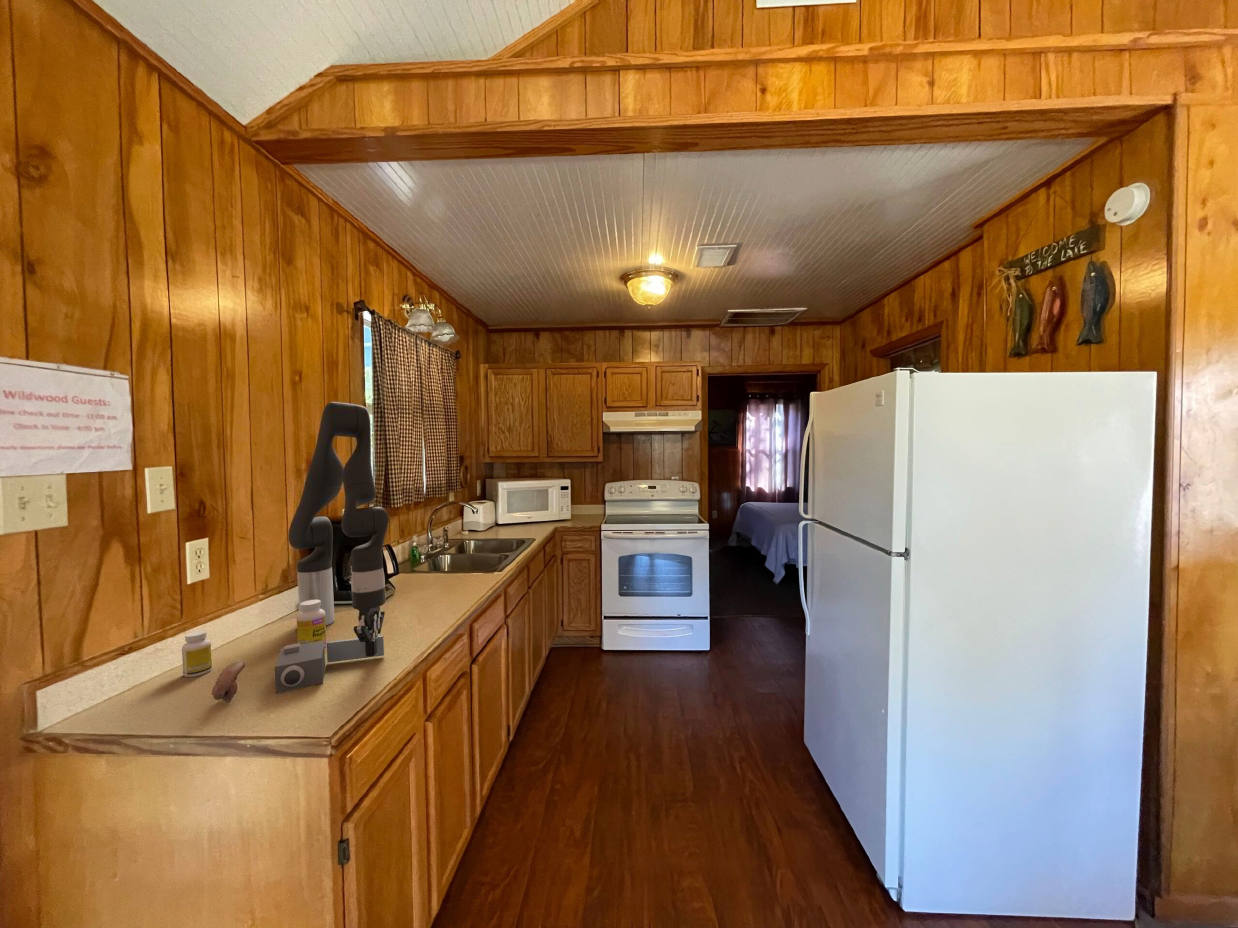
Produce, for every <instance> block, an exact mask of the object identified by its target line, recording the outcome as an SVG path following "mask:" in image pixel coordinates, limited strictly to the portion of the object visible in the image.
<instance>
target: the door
mask: <svg viewBox="0 0 1238 928" xmlns="http://www.w3.org/2000/svg"><path fill="white" fill-rule="evenodd" d="M376 640H377V653H376V654H375V655H374V656H369V657H367V656H366V652H365V642H360V641H359V639H358V637H356V638H350V639H342V640H332V641H326V657H327V660H326V661H327V663H329V664H330V663H335V662H342V661H344V662H345V661H352V660H359V659H370V658H374V657H375V658H377V657H383V656H385V645H384V643H385V640H384V635H378V638H377V639H376Z"/></svg>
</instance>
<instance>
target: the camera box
mask: <svg viewBox="0 0 1238 928" xmlns="http://www.w3.org/2000/svg"><path fill="white" fill-rule="evenodd" d="M325 647H326V646H325V645H324V641H318V642H313V643H307V644H301V645H300V643H298V642H297V643H293V644H289V645H285V646H284V647H281V649H280V651H279V654H278V656H277V660H276V662H275V665H274V674H275V675H274V678H275V694H279V693H284V692H289V691H293V690H298V689H303V688H307V687H312V686H317V685H321V684H324V677H325V672H326V671H325V670H326V651H325V650H326V648H325Z"/></svg>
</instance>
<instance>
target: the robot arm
mask: <svg viewBox="0 0 1238 928" xmlns="http://www.w3.org/2000/svg"><path fill="white" fill-rule="evenodd" d="M370 418H371V417H370V413H369V410H368V408H367V407H366V406H364V405H362V404H361V405H360V404H354V403H349V402H348V403H347V402H339V401H329V402H327V404H326V405H325V406H324V408H323V411H322V413H321V418H320V424H319V427H318V428H319V429H318V433H317V434H318V435H317V438H316V439H317V440H316V444H315V449H314V453H313V456H312V459H311V462H310V465H309V468H308V471H307V474H306V477H305V481H304V487H303V491H302V494H301V497H300V500H299V504H298V506H297V508H296V511H295V513H294V515H293V518H292V520H291V522H290V524H289V529H288V537H287V538H288V542H289V545H290V546H291V547H292V548H293V549H295V550H305V549H312V548H314V549H313V551H312V552H311V553H310V554H309V555H307V556H305V557H304V558H301V559H300V560H299V561H297V564H296V573H297V576H296V577H297V593H298V595H297V596H298V614H299V613H300V612H302V610H301V608H300V604H301V603H302V602H305V601H308V600H320V601H321V605H320V609H323V610H324V611H325V620H326V626H328V625H331V624H333V623H334V622H335V604H334V603H335V601H334V584H333V579H334V578H333V563H332V562H333V558H334V557H333V554H334V553H333V549H334V548H333V545H334V544H333V542H334V541H333V540H334V539H333V538H334V535H333V534H334V531H333V525H332V522H331V520H330V519H329V517H327V516H321V515H320V516H317V515H318V514H319V512H321V511H322V510H323V509H324V508H325V507H327V506H328V505H329V504H331V502H332V501H333V500H334V499H335V498H337V496H338V495H339V494H340V492H341V489H342V486H343V492H344V500H345V501H344V508H343V513H342V518H341V522H340V523H341V525H340V526H341V531H342V532H343V534H344V535H345V536H346V537H349V538H358V537H367V536H369V537H370V536H371V539H370V540H369V541H368V542H365V543H364V544H361V545H357V546H355V547H354V548H353V549H351V552H350V556H351V557H350V561H351V577H350V578H351V579H350V583H351V587H350V588H351V604H352V605H351V607H352V608H353V609H354V610H358V615H357V619H358V624H357V625H355V626H354V627H353V632H354V634H355V636H356V638H358V639H359V641H360V642H365V652H366V656H367V657H369V656H374V655H375V654H376V653H377V640H376V639H377V638H378V636H379V635H381V631H382V629H383V628H382V626H383V622H384V618H385V613H386V611H385V610H384V611H383V610H381V606H384V605H385V604H386V600H387V599H386V582H385V581H386V580H385V579H386V578H385V572H384V563H383V562H384V561H383V557H384V556H383V555H384V554H383V549H384V544H385V543H384V542H385V538H386V534H387V531H388V528H389V527H388V526H389V522H390V517H389V514H388V511H387V510H386V509H385V508H384V507H382V506H370V507H360V506H363V505H367V504H369V503H371V502H373V501H374V500H375V499H376V496H377V494H376V493H377V492H376V486H375V481H374V480H375V479H374V477H373V475H374V474H373V469H372V439H371V437H372V436H371V435H372V434H371V433H372V432H371V419H370ZM336 437H344V438H355V441H356V446H355V448H354V450H353V452H352V454H351V455H350V457H349V458H348V460H347V461H346V463H345V465H343V463H342V461H341V460H340V459H341V458H340V457H339V456H338V453H337V452H336V450H335V447H334V439H335V438H336ZM359 507H360V508H359ZM369 658H370V657H369Z"/></svg>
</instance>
